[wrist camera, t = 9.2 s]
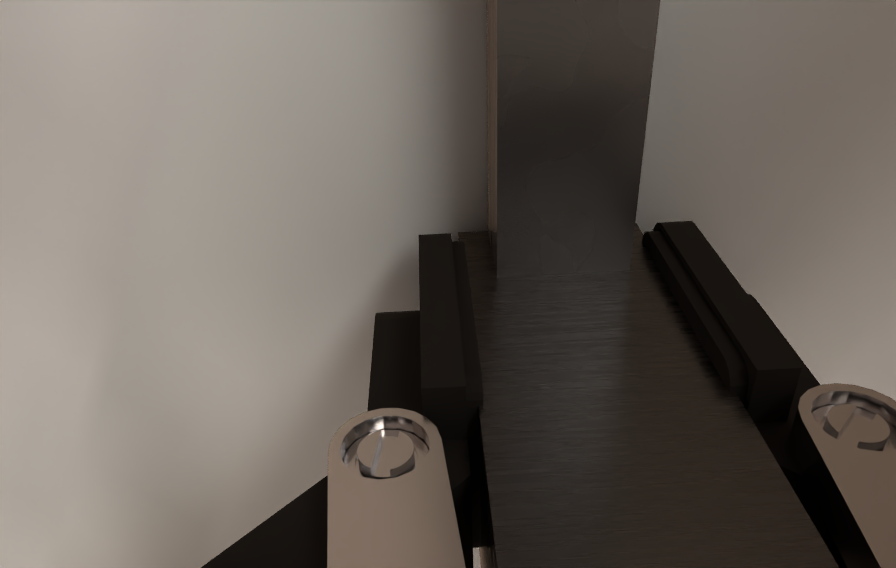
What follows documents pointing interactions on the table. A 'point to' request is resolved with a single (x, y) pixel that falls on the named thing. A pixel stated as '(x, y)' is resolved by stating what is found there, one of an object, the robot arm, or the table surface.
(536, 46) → the hook tool
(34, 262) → the table surface
